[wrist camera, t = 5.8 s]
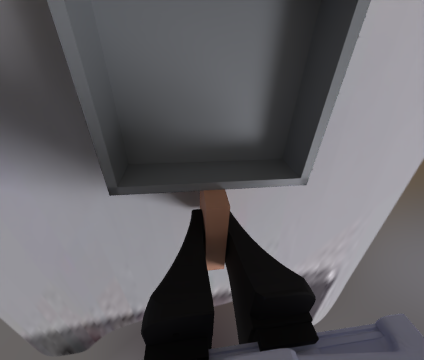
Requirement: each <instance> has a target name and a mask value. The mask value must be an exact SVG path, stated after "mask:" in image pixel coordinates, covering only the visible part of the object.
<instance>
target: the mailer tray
mask: <svg viewBox="0 0 424 360" xmlns="http://www.w3.org/2000/svg"><path fill="white" fill-rule="evenodd" d="M370 1H371V0H47V2H48V5H49V9H50V12H51V15H52V18H53V21H54V24H55V27H56V30H57V33H58V36H59V40H60V43H61V46H62V49H63V52H64V55H65V58H66V61H67V64H68V67H69V71H70V74H71V77H72V80H73V83H74V86H75V89H76V92H77V95H78V99H79V102H80V105H81V108H82V111H83V114H84V117H85V120H86V123H87V126H88V130H89V133H90V136H91V139H92V142H93V145H94V148H95V151H96V154H97V157H98V161H99V164H100V167H101V170H102V173H103V176H104V179H105V182H106V185H107V188H108V192H109V195H110V196H111V195H129V194H148V193H166V192H185V191H200V209H202V213H203V241H204V250H205V257H206V264H207V270H216V269H224V264H225V254H226V244H227V234H228V224H229V214H230V204H229V201H228V198H227V195H226V192H225V189H241V188H260V187H278V186H297V185H307V182H308V179H309V176H310V173H311V170H312V168H313V165H314V162H315V159H316V156H317V153H318V150H319V148H320V145H321V142H322V139H323V136H324V133H325V130H326V127H327V125H328V122H329V119H330V116H331V113H332V110H333V107H334V105H335V102H336V99H337V96H338V93H339V90H340V87H341V84H342V82H343V79H344V76H345V73H346V70H347V67H348V64H349V62H350V59H351V56H352V53H353V50H354V47H355V44H356V41H357V39H358V36H359V33H360V30H361V27H362V24H363V21H364V18H365V16H366V13H367V10H368V7H369V4H370Z"/></svg>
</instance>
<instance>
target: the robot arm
mask: <svg viewBox="0 0 424 360" xmlns="http://www.w3.org/2000/svg"><path fill="white" fill-rule="evenodd" d="M225 264H226V267H227V271H228V275H229V281H230V287H231V292H232V299H233V305H234V311H235V318H236V325H237V331H238V339H239V345H234V346H228V347H221V348H214V349H211V346H212V336H213V323H214V307H213V299H212V293H211V288H210V282H209V276H208V270H207V264H206V257H205V250H204V241H203V213H202V209H197V210H192V215H191V221H190V225H189V228H188V232H187V234H186V237H185V240H184V242H183V245H182V247H181V249H180V251H179V253H178V255H177V257H176V259H175V261H174V263H173V264H172V266H171V268H170V269H169V271H168V272H167V274H166V275H165V277H164V279H163V280H162V282H161V283H160V284H159V286H158V287H157V288H156V290H155V291H154V292H153V294H152V295H151V297H150V299H149V302H148V304H147V307H146V310H145V313H144V317H143V322H142V329H141V334H142V337H143V339H144V342H145V344H146V349H145V356H144V360H424V337H423V335H422V334H421V333H420V332H419V331H418V329H417V328H416V327H415V326H414V325H413V324H412V323H411V321H410V320H409V319H408V318H407V317H406V315H405V314H402V313H401V314H394V315H388V316H384V317H381V318H380V319H378V320H377V321H376V323H375V324H369V325H363V326H357V327H350V328H344V329H337V330H330V331H325V332H318V333H316V331H315V329H314V327H313V325H312V323H311V322H312V317H311V315H310V313H309V311H310V310H311V308H312V306H313V305H314V303H315V300H316V299H315V295H314V293H313V292H312V290H311V288H310V286H309V285H308V283H307V282H306V281H305V279H304V278H303V277H301V276H299V275H298V274H296V273H295V272H293V271H291V270H290V269H288V268H287V267H285V266H284V265H282V264H281V263H279V262H278V261H277V260H276V259H274V258H273V257H272V256H270V255H269V254H268V253H267V252H266V251H265V250H263V249H262V248H261V247H260V246H259V245H258V244H257V243H256V242H255V241H254V240H253V239H252V238H251V237H250V236H249V235H248V234H247V232H246V231H245V230H244V229H243V228H242V226H241V225H240V224H239V223H238V221H237V220H236V219H235V217H234V216H233V215H232V213H231V212H230V214H229V224H228V234H227V244H226V254H225Z"/></svg>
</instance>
